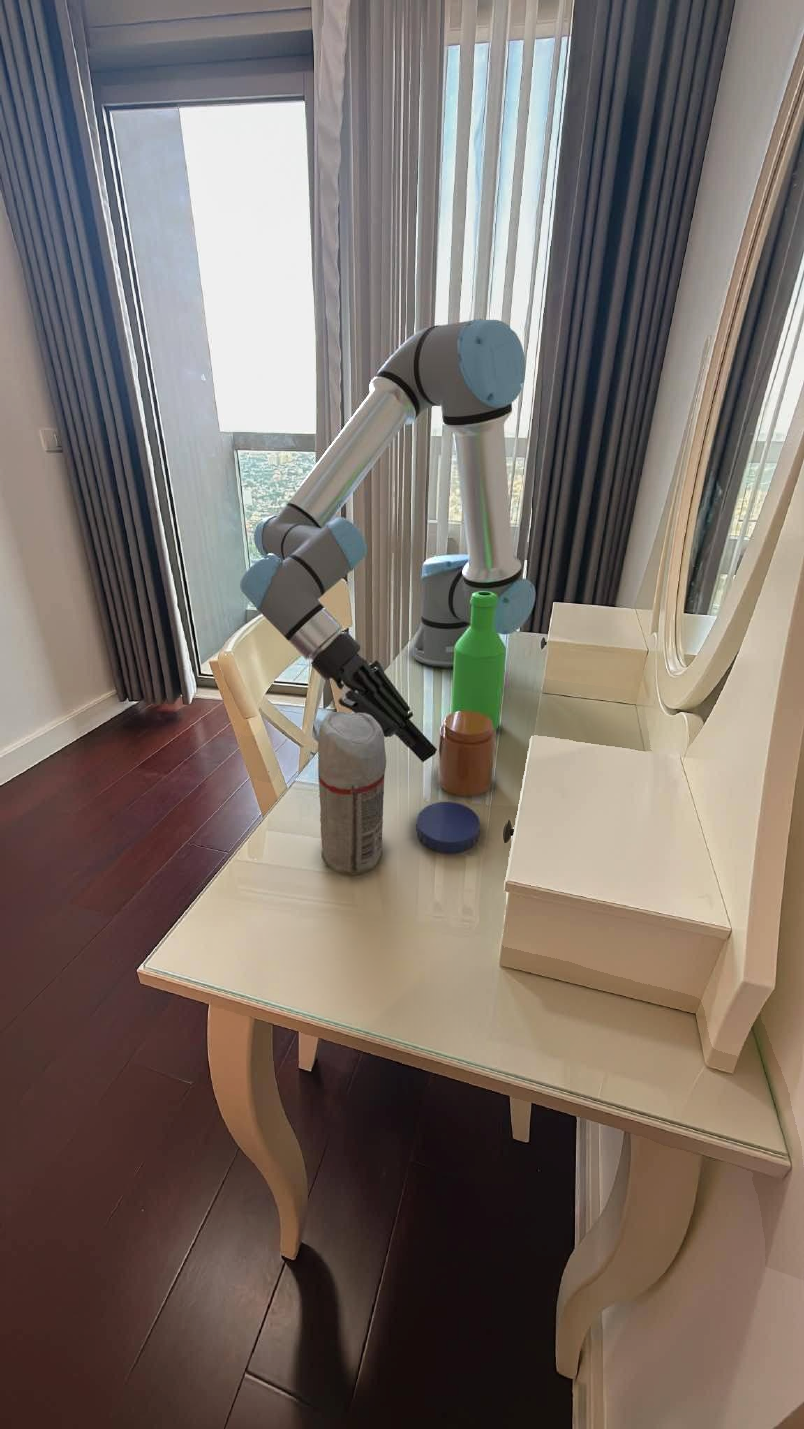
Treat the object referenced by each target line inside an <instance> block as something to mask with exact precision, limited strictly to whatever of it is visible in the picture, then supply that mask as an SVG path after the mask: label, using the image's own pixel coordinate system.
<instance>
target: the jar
mask: <svg viewBox="0 0 804 1429" xmlns="http://www.w3.org/2000/svg"><path fill="white" fill-rule="evenodd" d="M496 736H497V732H496V729H494V728H493V723H492V721H491V719H490V718H489V717H487V716H486V715H484V714H482V713H478V712H474V711H458V712H454V713H451V712H450V713H449V714H448V715H446V717H445V718H444V720H443V723H442V724H441V726H440V728H439V739H438V763H437V764H438V765H437V782H438V785H439V786H440V787H441V789H443V790H444V791H446V792H447V793H449V794H451V795H455V796H460V797H475V796H478V795H482V794H484V793H486V792H487V791H488V790H489V789H490V787H491V785H492V777H493V767H494V757H495V747H496V738H497V737H496Z"/></svg>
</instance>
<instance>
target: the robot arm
mask: <svg viewBox="0 0 804 1429" xmlns="http://www.w3.org/2000/svg"><path fill="white" fill-rule="evenodd" d="M525 378H526V357H525V352H524V348H523V345H522V342H521V340H520V337H519V336H518V334H517V332H515V331H514V330H513V329H512V328H511V326H510V325H509V324H508V323H506V322H504V321H502V320H500V319H483V318H478V319H472V320H465V321H460V322H454V323H448V324H441V325H440V324H439V325H438V324H437V325H431V326H427V327H424V328H423V329H420V330H419V331H417V332H416V333H414V334H413V335H411V336H410V337H409V338H407V339H406V340H405V341H404V342H403V343H402V344H401V345H399V347H398V348H397V349H396V350H395V351H394V352H393V353H392V355H391V356H390V357H389V358H388V359H387V361H385V363H384V364H383V365H382V366H381V368H380V369H379V370H378V372H377V373H376V374H375V376H374V377H373V378H372V379H371V381H370V383H369V394H368V395H367V397H366V398H365V399H364V401H363V402H362V403H361V405H360V406H359V408H357V410H356V411H355V413H354V414H353V415H352V417H351V418H350V419H349V420H348V422H347V423H346V424H345V426H344V427H343V428H342V430H341V431H340V432H339V434H338V435H337V437H336V438H335V439H334V441H333V442H332V443H331V445H329V447H328V448H327V450H326V451H325V452H324V454H323V455H322V457H320V459H319V461H318V462H317V463H316V464H315V465H314V467H313V468H312V470H311V471H310V473H309V474H308V475H307V476H306V477H305V479H304V480H303V481H302V483H301V484H300V485H299V487H298V488H297V489H296V491H295V492H294V494H293V495H292V496H291V497H290V499H289V500H288V501H287V503H286V504H285V505H284V507H283V508H282V509H281V510H280V512H279V513H278V514H277V515H269V516H266V517H264V518H262V519H261V520H260V521H259V522H258V523H257V525H256V527H255V529H254V533H253V541H254V546H255V548H256V550H257V551H258V553H259V555H260V556H261V557H262V558H260V559H258V560H257V561H256V562H254V563H253V564H252V565H251V566H250V567H249V568H248V569H247V570H246V572H244V574H243V575H242V577H241V579H240V583H239V588H240V591H241V592H242V593H243V595H244V596H245V597H246V598H247V599H248V601H249V602H250V603H251V604H252V605H253V606H254V608H255V609H256V611H257V612H259V613H260V614H261V615H263V617H264V618H265V619H267V621H268V622H269V623H270V624H271V625H272V626H273V627H274V628H276V630H277V631H278V632H279V633H280V634H281V635H282V636H283V637H284V638H285V640H287V642H289V643H290V645H292V647H293V648H294V649H295V650H296V651H297V652H298V653H299V654H300V655H301V656H302V657H303V658H304V659H305V660H311V662H310V664H311V667H312V668H313V669H314V670H315V671H316V672H317V674H318V675H319V676H320V677H321V678H322V679H323V680H326V681H327V680H330V679H332V680H333V681H334V683H335V684H336V685H335V686H337V688H338V689H339V690H341V697H339V699H338V704H339V705H341V706H342V707H344V708H345V709H348V710H350V711H352V712H353V713H366V714H369V715H371V716H372V717H373V718H374V719H375V720H376V721H377V722H378V723H379V725H380V726H381V728H382V731H383V734H384V738H388V737H389V738H391V737H393V735H395V736H396V737H397V738H398V739H399V740H400V741H401V742H402V743H403V744H404V745H405V746H406V747H407V748H408V749H409V750H411V752H412V753H413V754H414V755H415V756H416V757H417V758H418V759H419V760H420V761H421V762H422V763H424V762H426V761H427V760H429V759H430V758H431V757H433V756H434V755H435V754H436V753H437V750H438V749H437V747H436V746H435V745H434V744H433V743H432V742H431V741H430V740H429V739H428V738H427V737H426V735H424V734H423V732H421V730H420V729H419V728H418V726H416V725H415V724H414V722H412V720H411V718H413V716H414V714H413V712H412V711H411V708H410V706H409V704H408V703H407V702H406V700H405V699H404V697H403V696H402V695H401V694H400V692H399V690H398V689H397V688H396V687H395V685H394V683H393V682H392V681H391V679H390V678H389V677H388V675H387V674H386V673H385V671H384V669H383V667H382V665H381V663H380V661H379V660H377V659H376V660H374V661H373V662H368V661H367V659H365V658H363V657H362V656H361V655H360V654H358V653H359V652H360V650H361V645H360V644H359V643H358V642H357V641H356V639H354V638H353V636H352V635H351V634H350V633H349V632H348V631H347V632H346V631H342V629H343V625H342V624H341V623H340V622H339V621H338V620H337V619H336V618H335V616H333V615H332V614H331V613H330V611H328V610H327V609H326V608H325V606H324V605H323V604H322V603H321V602H320V601H319V599H320V598H322V597H323V596H324V595H325V593H327V592H328V591H329V590H330V589H332V588H333V586H335V585H336V584H338V583H339V582H340V581H341V580H342V579H343V578H345V577H346V576H347V575H348V574H349V573H351V572H352V571H354V569H355V567H356V566H357V565H359V563H360V562H361V561H362V560H363V559H364V558H365V557H366V555H367V552H368V547H367V545H368V544H367V543H366V540H365V538H364V535H363V534H362V532H361V530H359V528H358V527H357V526H356V524H354V523H353V522H352V521H351V520H349V519H347V518H345V517H342V516H337V515H338V513H339V512H340V511H341V509H342V508H343V507H344V505H345V504H346V503H347V501H348V500H349V499H350V497H351V496H352V495H353V493H354V492H355V490H356V489H357V488H358V487H359V485H360V484H361V483H362V482H363V480H364V479H365V477H366V476H367V475H368V473H369V472H370V470H372V467H374V465H375V464H376V463H377V461H378V460H379V458H380V457H381V456H382V455H383V453H384V452H385V450H386V449H387V448H388V447H389V445H390V444H391V442H392V441H393V440H394V439H395V437H396V436H397V434H398V433H399V432H400V430H401V429H402V428H403V426H409V425H412V424H413V423H414V422H415V421H416V419H417V417H418V416H419V415H420V414H421V413H422V412H425V411H426V410H427V409H430V408H432V407H440V408H441V416H442V424H443V426H444V427H446V428H447V429H448V430H449V431H451V432H452V434H453V441H454V449H455V458H456V465H457V466H456V468H457V474H458V484H459V491H460V500H461V508H462V509H461V510H462V516H463V525H464V531H465V532H464V533H465V541H466V542H465V543H466V549H467V554H446V555H438V556H434V557H429V558H427V559H426V560H425V561H424V562H423V564H422V569H421V570H422V571H421V576H420V625H419V627H418V630H417V633H416V636H415V639H414V642H413V645H412V656H413V658H414V660H415V661H417V662H418V663H421V664H423V665H426V666H429V667H433V668H442V669H443V668H444V669H453V668H454V649H455V645H456V643H457V642H458V640H459V639H460V638H461V637H462V635H463V634H464V633H465V632H466V630H467V629H468V628H469V627H470V625H471V609H472V605H471V604H470V600H471V597H472V594H473V593H475V592H479V591H488V592H492V593H494V594H496V595H497V598H498V605H496V606H495V619H494V628H495V630H496V631H497V633H498V635H510V634H512V633H515V632H516V631H518V630H519V629H520V628H522V626H524V624H525V623H526V621H527V620H528V618H529V617H530V615H531V613H532V611H533V608H534V606H535V601H536V588H535V585H534V584H533V583H532V582H531V581H530V580H529V579H526V578H523V573H522V562H521V560H520V559H519V558H518V557H516V556H514V554H513V541H512V540H513V539H512V526H511V525H512V524H511V513H510V498H509V480H508V467H507V466H508V465H507V452H506V451H507V450H506V441H505V440H506V439H505V438H506V437H505V436H506V435H505V423H506V421H507V420H508V418H509V417H510V416H511V414H512V413H513V403H514V402H515V401H516V399H517V398H518V397H519V396H520V393H521V391H522V389H523V388H522V385H521V384H523V383H524V382H525ZM336 516H337V517H336Z"/></svg>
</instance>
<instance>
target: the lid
mask: <svg viewBox="0 0 804 1429" xmlns="http://www.w3.org/2000/svg"><path fill="white" fill-rule="evenodd" d="M480 822H481V821H480V818H479V816H478V815H477V813H476V812H475V811H474V810H472V808H470V807H469V806H466V805H464V804H462V803H458V802H452V801H439V802H434V803H431V804H429V805H427V806H425V807H424V808H422V810H421V811H420V812H419V813H418V815H417V817H416V825H415V831H416V836H417V837H418V840H419V842H420V843H421V844H423V845H424V846H425V847H427V848H428V849H430V850H432V851H435V852H438V853H443V854H457V853H462V852H465V851H467V850H469V849H471V848H472V847H473V846H474V845H475V844H476V843H477V842H478V840H479V838H480V833H481V828H480V827H481V823H480Z"/></svg>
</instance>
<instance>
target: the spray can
mask: <svg viewBox="0 0 804 1429" xmlns="http://www.w3.org/2000/svg"><path fill="white" fill-rule="evenodd" d="M317 737H318V739H317V759H318V760H317V776H318V791H319V795H318V797H319V805H320V806H319V807H320V812H319V813H320V814H319V816H320V818H319V822H320V837H321V859H322V861H323V862H324V864H325V865H326V867H328V868H330V869H332V870H334V871H336V872H338V873H340V874H345V875H347V876H353V875H357V874H363V873H367V872H369V871H371V870H372V869H373V868H374V867H376V865H377V864H378V863H379V860H380V858H381V857H382V854H383V826H384V825H383V824H384V819H383V817H384V796H385V789H384V788H385V774H386V768H387V756H386V747H385V743H386V742H385V736H384V734H383V731H382V728H381V726H380V725H379V723H378V722H377V721H376V720H375V719H374V718H373V717H372V716H371V715H369V714H366V713H354V712H353V713H350V712H347V711H344V710H343V711H333V712H328V713H327V714H326V715H325V716H324V718H323V720H322V722H321V724H320V728H319V730H318V736H317Z"/></svg>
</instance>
